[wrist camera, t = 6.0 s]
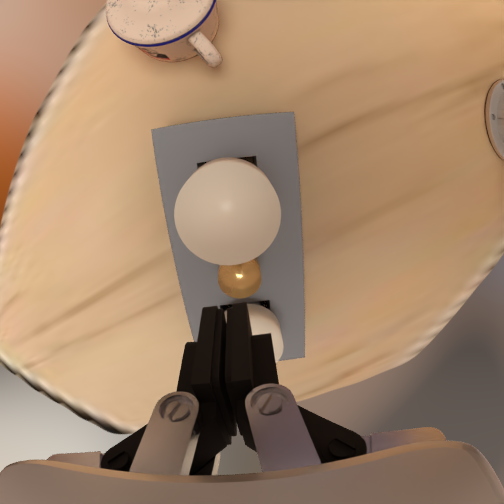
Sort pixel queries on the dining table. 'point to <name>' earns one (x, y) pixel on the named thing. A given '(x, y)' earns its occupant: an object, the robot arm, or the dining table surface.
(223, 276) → the brass ball
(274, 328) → the ivory knob
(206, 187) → the ivory knob
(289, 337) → the mount
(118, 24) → the teacup with lid
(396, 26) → the dining table surface
